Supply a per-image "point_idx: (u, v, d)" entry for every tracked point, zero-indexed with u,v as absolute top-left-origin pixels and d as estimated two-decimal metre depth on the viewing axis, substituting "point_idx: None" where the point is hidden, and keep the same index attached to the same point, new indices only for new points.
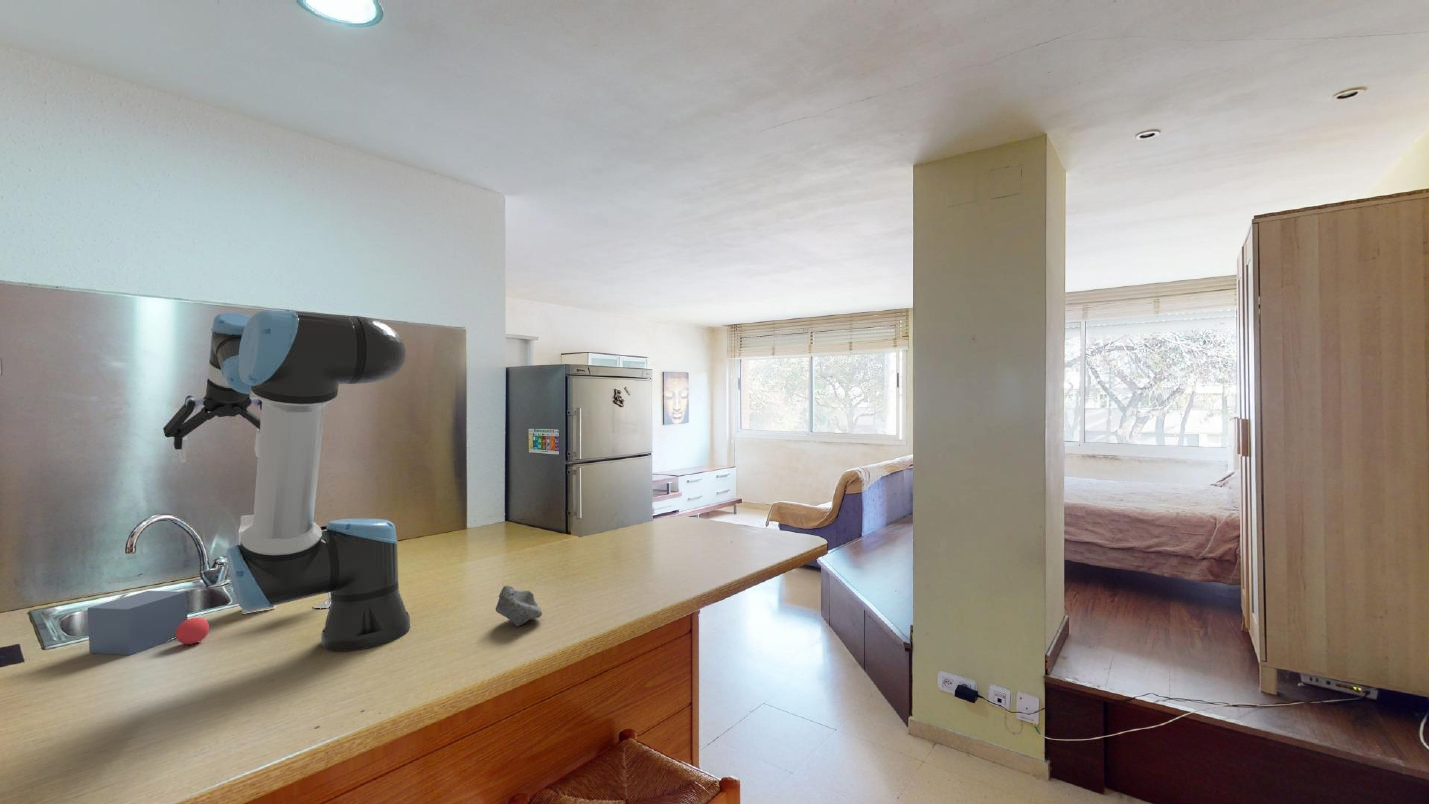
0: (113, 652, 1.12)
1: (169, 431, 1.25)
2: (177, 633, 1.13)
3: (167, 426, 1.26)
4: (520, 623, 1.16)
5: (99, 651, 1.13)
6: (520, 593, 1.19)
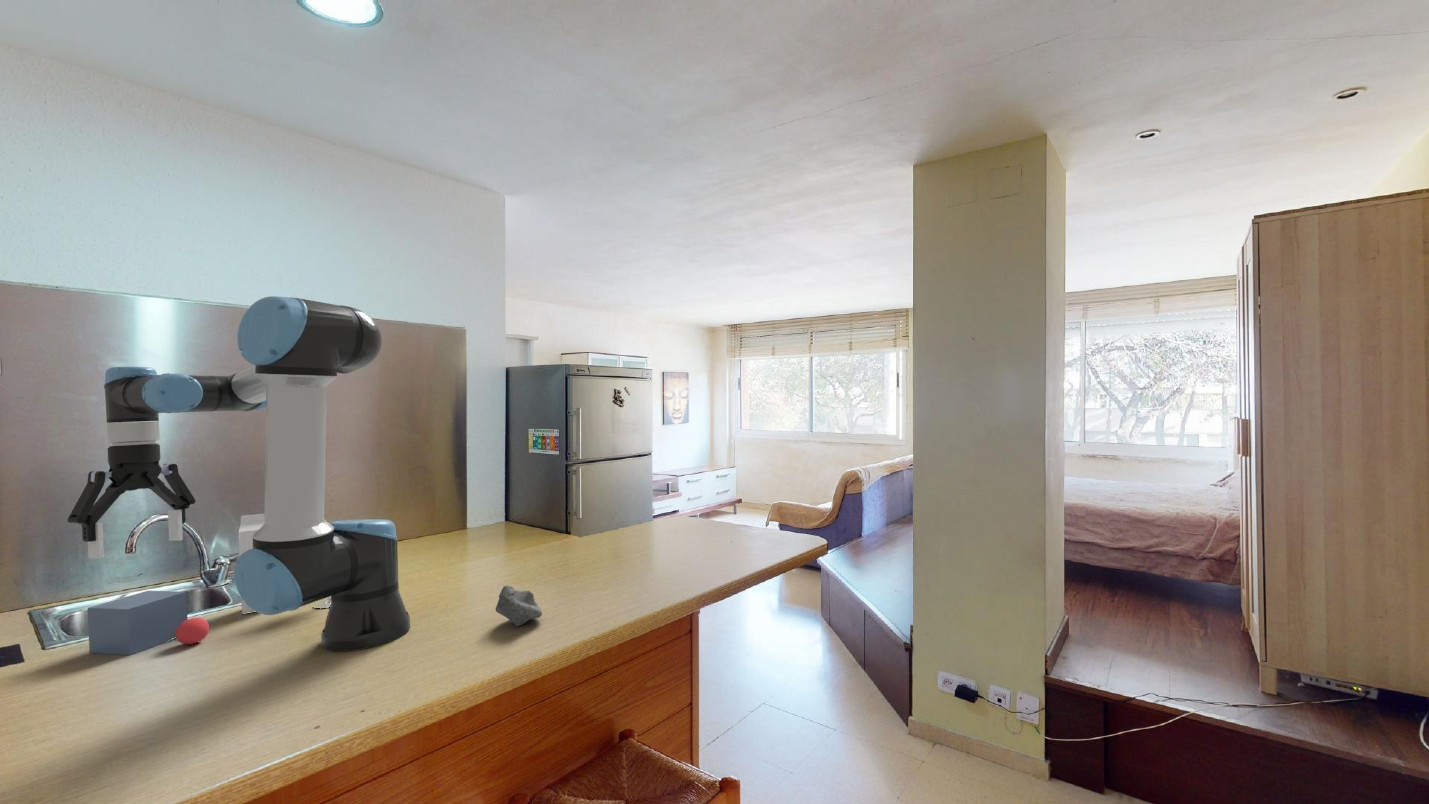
0: (113, 652, 1.12)
1: (81, 514, 1.08)
2: (177, 633, 1.13)
3: (74, 512, 1.08)
4: (520, 623, 1.16)
5: (99, 651, 1.13)
6: (520, 593, 1.19)
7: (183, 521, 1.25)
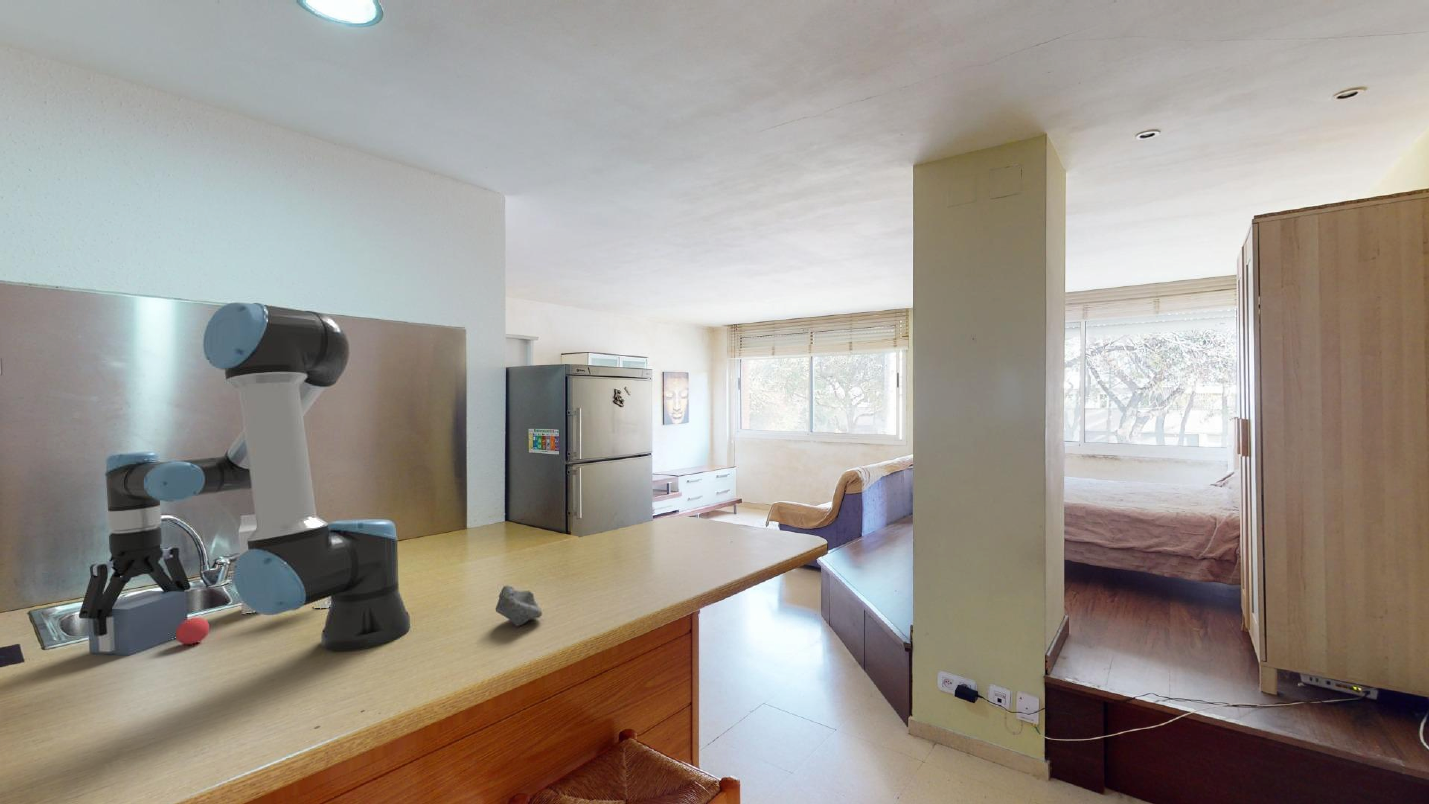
0: (113, 652, 1.12)
1: (91, 610, 1.09)
2: (177, 633, 1.13)
3: (84, 609, 1.09)
4: (520, 623, 1.16)
5: (99, 651, 1.13)
6: (520, 593, 1.19)
7: None
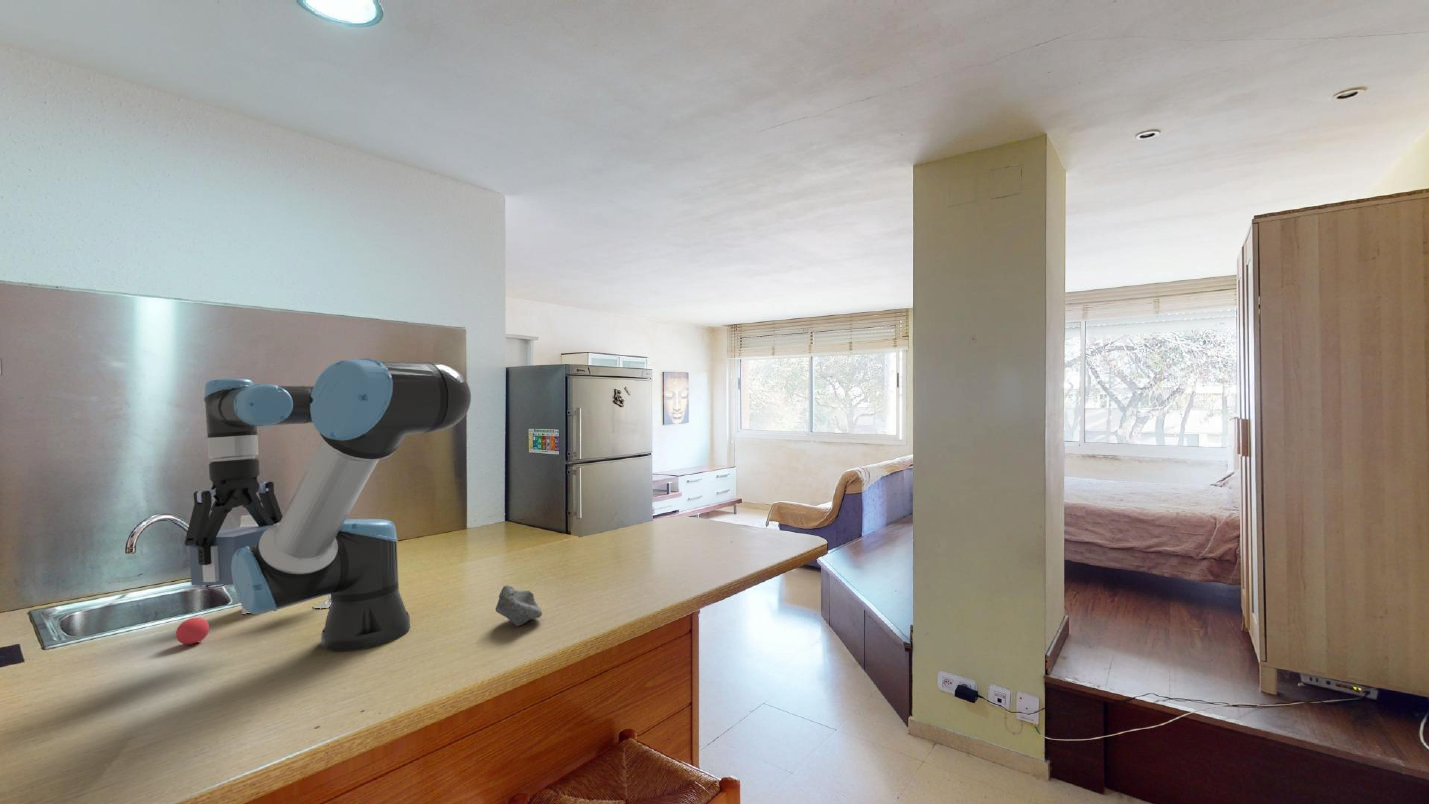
0: (217, 582, 1.08)
1: (198, 537, 1.05)
2: (177, 633, 1.13)
3: (190, 536, 1.05)
4: (520, 623, 1.16)
5: (202, 582, 1.08)
6: (520, 593, 1.19)
7: None
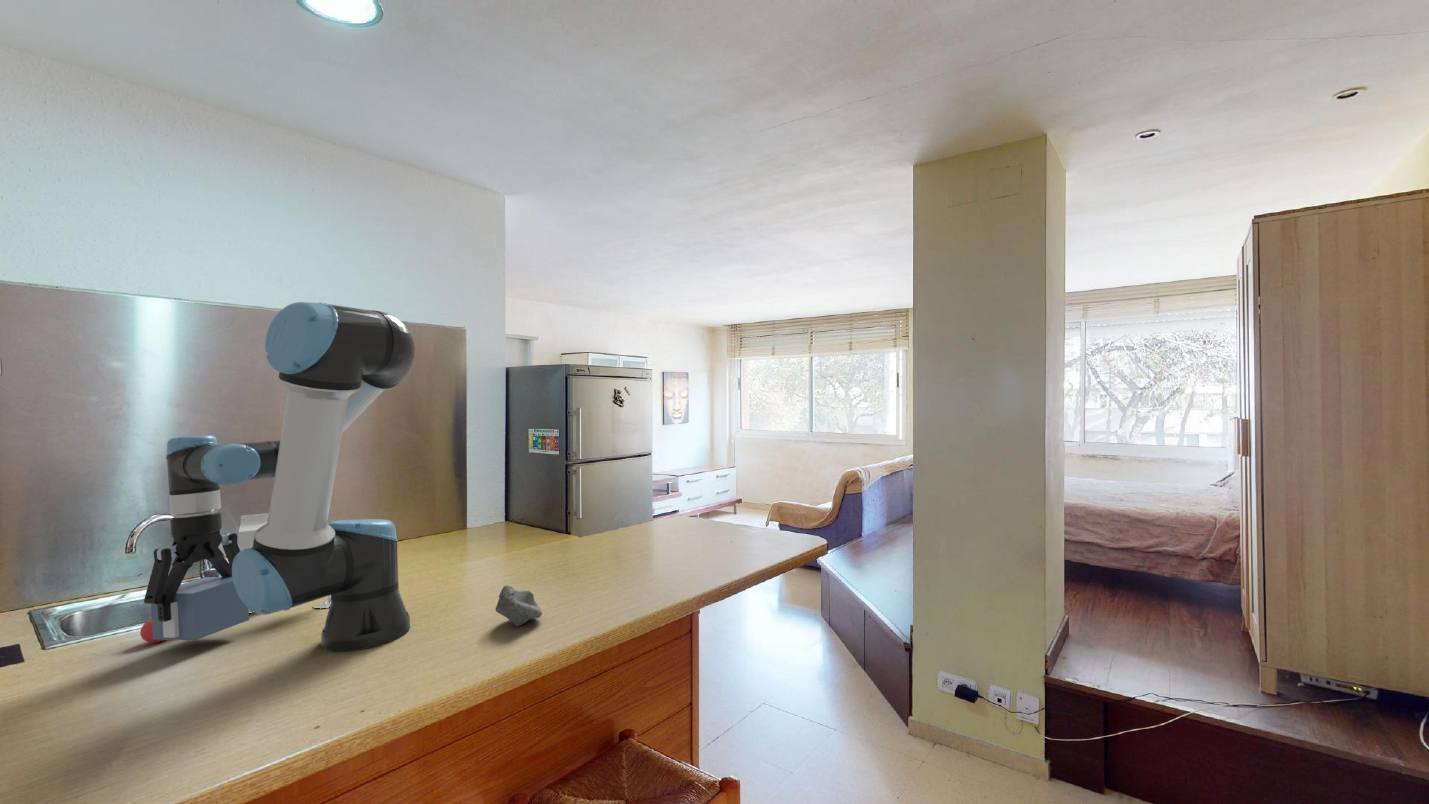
0: (177, 638, 1.10)
1: (157, 595, 1.07)
2: (145, 635, 1.15)
3: (149, 593, 1.07)
4: (520, 623, 1.16)
5: (163, 637, 1.11)
6: (520, 593, 1.19)
7: None
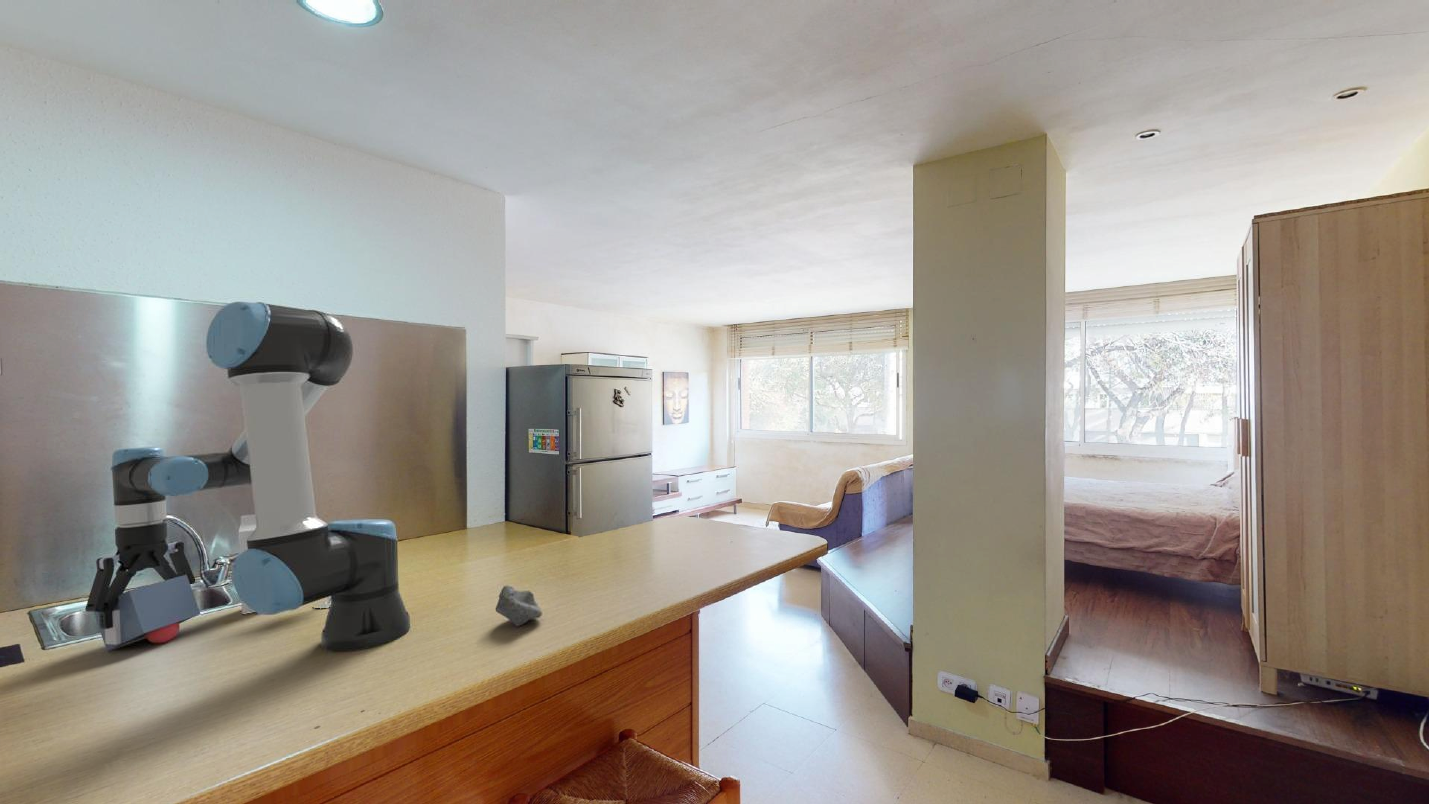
0: (128, 638, 1.12)
1: (98, 603, 1.10)
2: (149, 637, 1.15)
3: (91, 602, 1.10)
4: (520, 623, 1.16)
5: None
6: (520, 593, 1.19)
7: None
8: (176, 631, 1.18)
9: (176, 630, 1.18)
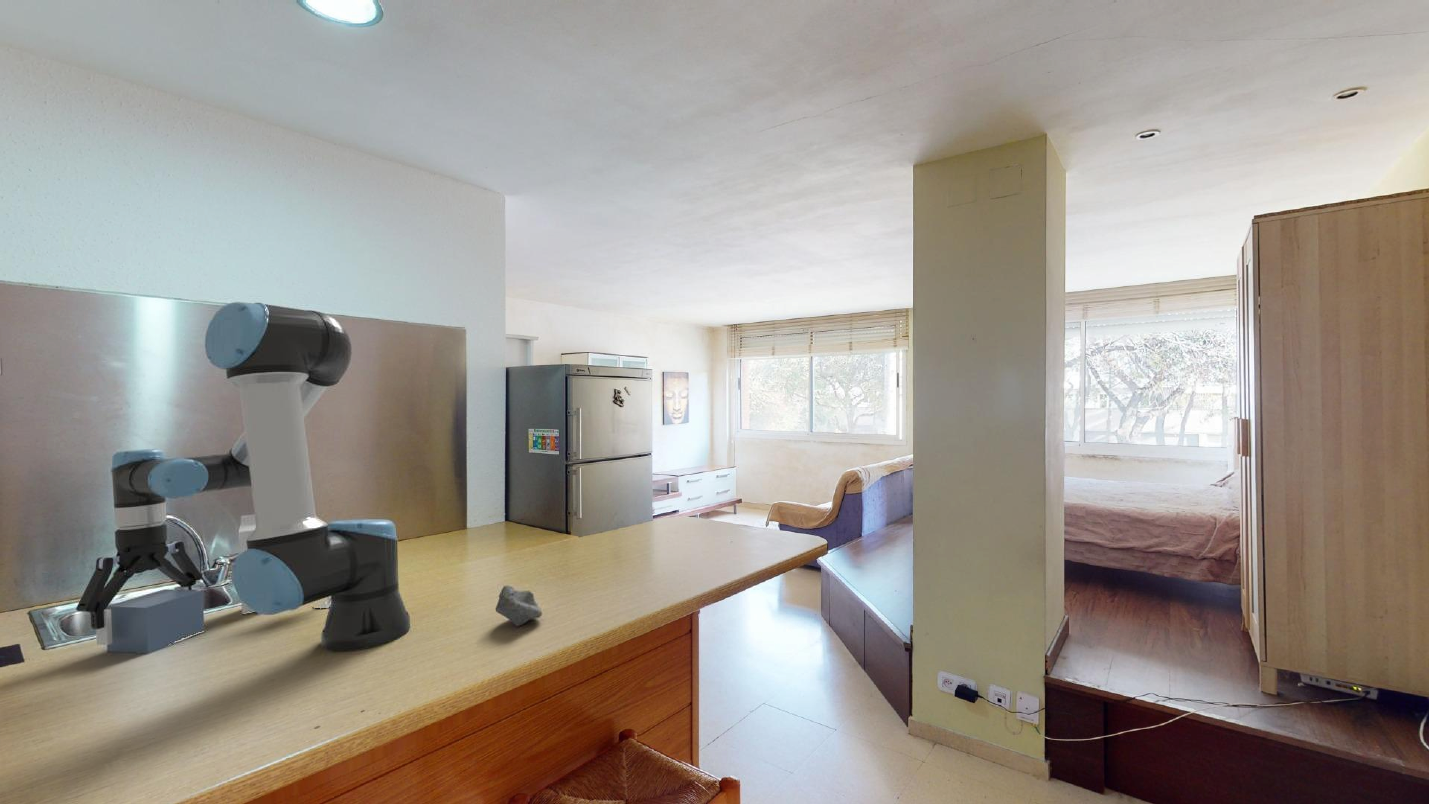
0: (131, 650, 1.12)
1: (90, 603, 1.09)
2: None
3: (83, 601, 1.09)
4: (520, 623, 1.16)
5: (117, 649, 1.13)
6: (520, 593, 1.19)
7: None
8: None
9: None
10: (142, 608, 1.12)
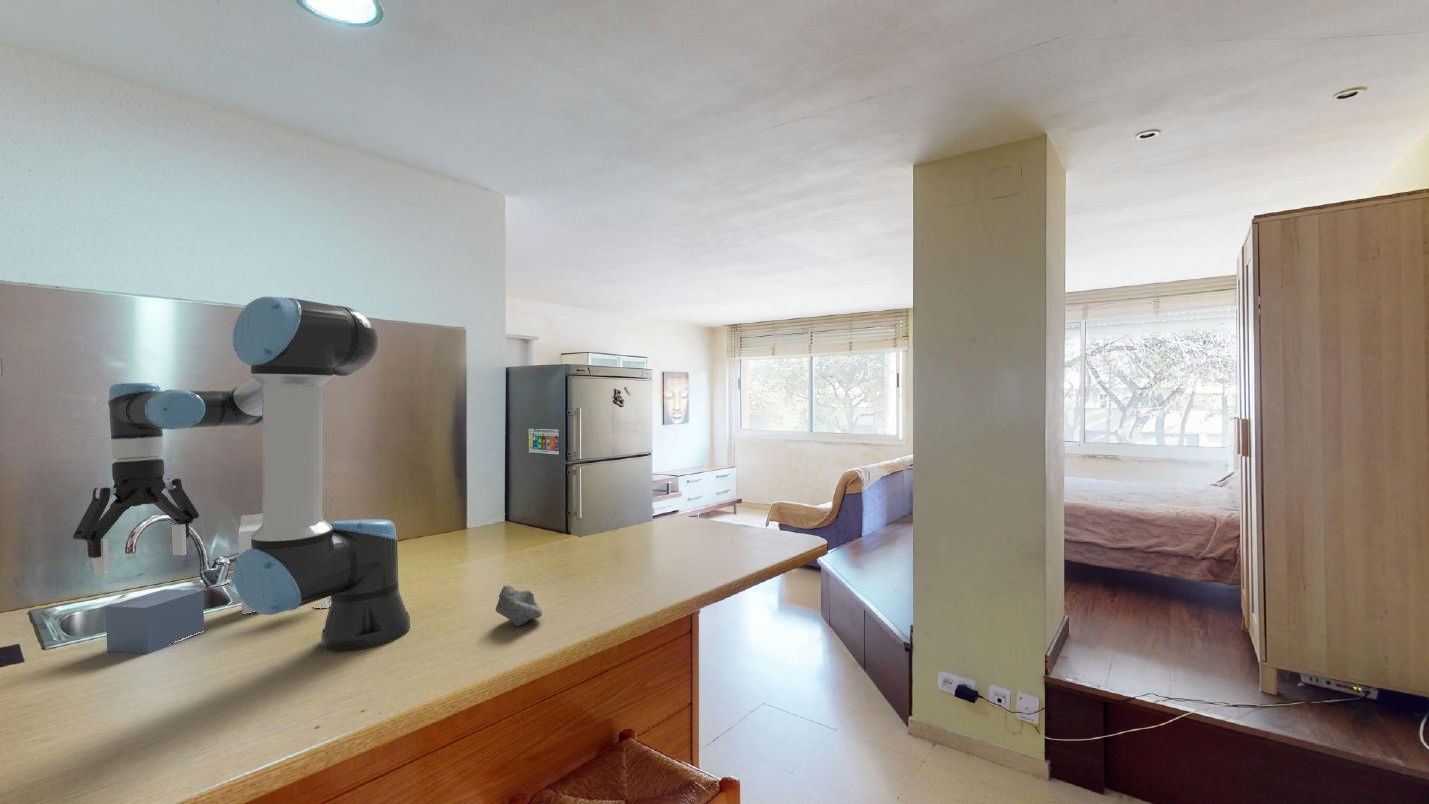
0: (131, 650, 1.12)
1: (87, 530, 1.09)
2: None
3: (80, 529, 1.09)
4: (520, 623, 1.16)
5: (117, 649, 1.13)
6: (520, 593, 1.19)
7: (187, 535, 1.26)
8: None
9: None
10: (142, 608, 1.12)
